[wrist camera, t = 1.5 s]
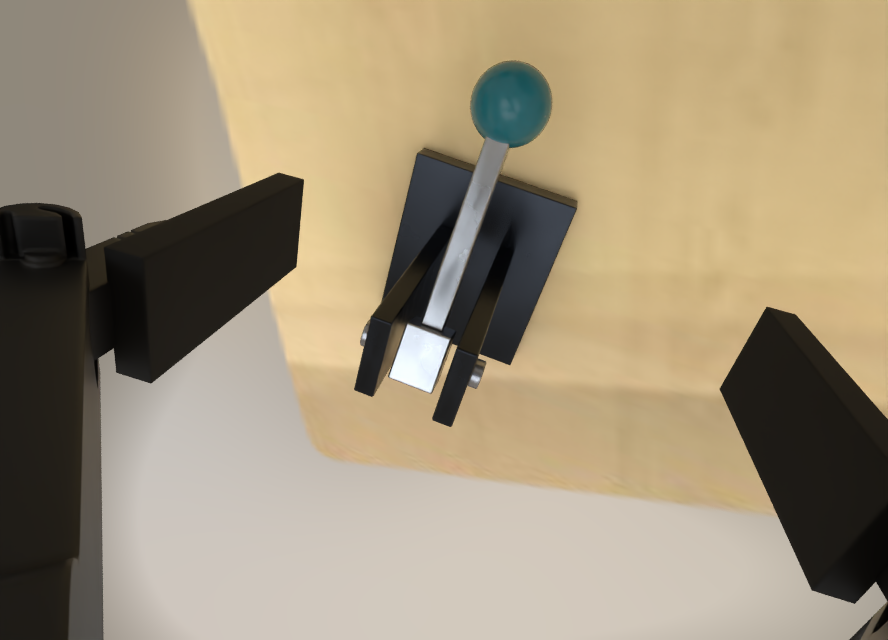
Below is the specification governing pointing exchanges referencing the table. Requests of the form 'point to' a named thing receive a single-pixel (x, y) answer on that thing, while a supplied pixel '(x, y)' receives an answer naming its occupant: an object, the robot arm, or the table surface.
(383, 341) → the lever base
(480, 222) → the ball knob joystick
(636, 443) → the table surface
